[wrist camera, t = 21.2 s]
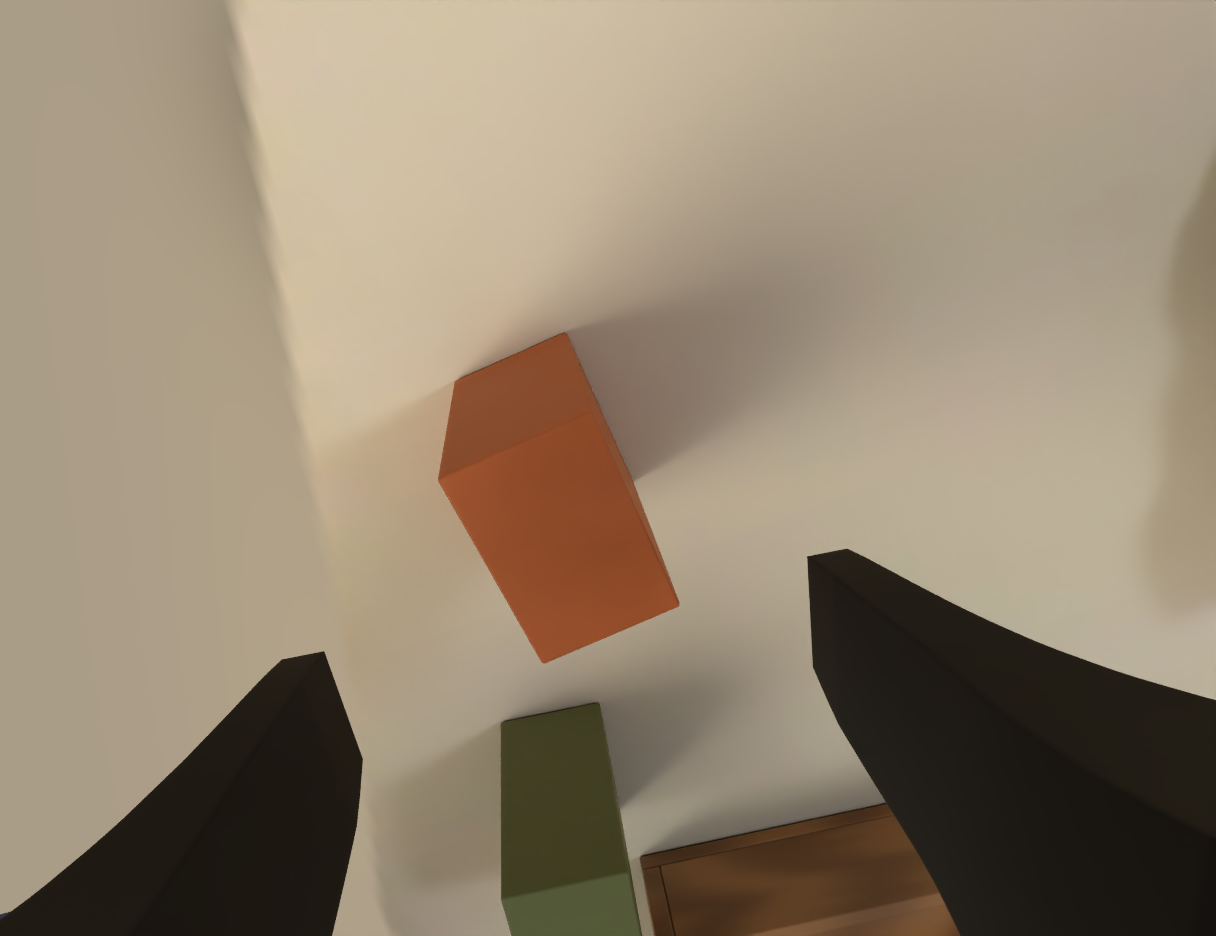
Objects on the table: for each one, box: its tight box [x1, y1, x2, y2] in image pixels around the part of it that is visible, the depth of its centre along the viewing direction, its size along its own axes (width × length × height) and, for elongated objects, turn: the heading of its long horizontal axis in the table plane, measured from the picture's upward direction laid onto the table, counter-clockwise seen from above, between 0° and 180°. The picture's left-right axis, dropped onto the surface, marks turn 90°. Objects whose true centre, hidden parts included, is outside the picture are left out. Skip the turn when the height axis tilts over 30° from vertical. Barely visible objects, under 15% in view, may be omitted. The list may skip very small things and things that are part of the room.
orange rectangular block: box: [438, 333, 679, 663], centre depth 18 cm, size 3×4×6 cm, turn 23°
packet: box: [501, 703, 642, 936], centre depth 22 cm, size 3×4×6 cm, turn 8°
